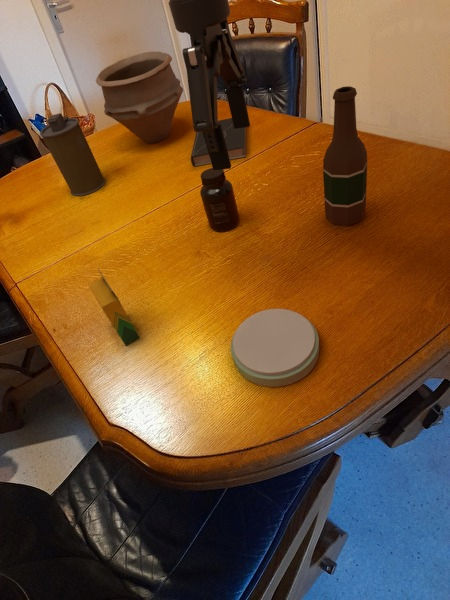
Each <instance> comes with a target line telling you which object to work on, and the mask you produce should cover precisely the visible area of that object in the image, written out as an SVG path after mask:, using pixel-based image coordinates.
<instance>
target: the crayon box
mask: <svg viewBox="0 0 450 600" xmlns="http://www.w3.org/2000/svg"><path fill="white" fill-rule="evenodd" d="M97 271H98V272H99V274H100V275H101V277H99V278H98V279H95V280H93V281H91V282H90V283H88V287H89V289H90V291H91V292H92V294H93V296H94V297H95V299H96V301H97V303H98V305H99V306H100V308H101V309H102V311H103V312H104V314H105V316H106V318H107V319H108V321H109V322H110V324H111V325H112V327H113V329H114V330H115V332H116V333H117V335H118V337H119V338H120V340H121V341H122V343H123V344H124V346H125V347H126V346H127V347H128V345H131V344H132V343H134V342H135V341H137V340H139V339H141V336H140V335H139V333H138V331H137V329H136V328H135V327H134V324H133V322H132V321H131V319H130V317H129V315H128V314H127V312H126V310H125V308H124V306H123V305H122V303H121V301H120V300H119V297H118V296H117V295H116V293H115V292H114V290H113V289H112V288H111V286H110V284H109V283H108V281H107V279H106V278H105V276H104V275H103V273H102V272H101V270H100V269H99V268H97Z"/></svg>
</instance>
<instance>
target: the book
mask: <svg viewBox="0 0 450 600" xmlns="http://www.w3.org/2000/svg"><path fill="white" fill-rule="evenodd" d="M219 124H221V127H222V131H223V135H224V139H225V143H226V147H227V151H228V155H229V159H230V161H234V160H239V159H244V158H246V157H247V127H244V128H236V129H234V125H233V121H232V117H230V118H224V119H220V120H218V125H219ZM190 155H191V156H190V162H191V165H192V166H193V167H194V168H195V167H200V166H205V165H212V163H211V160H210V156H209V153H208V149H207V146H206V142H205V139H204V135H203V132H202V131H201V132H195V137H194V141H193V144H192V149H191V154H190Z"/></svg>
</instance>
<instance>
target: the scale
mask: <svg viewBox="0 0 450 600" xmlns="http://www.w3.org/2000/svg"><path fill="white" fill-rule="evenodd" d="M318 334H319V333H318V331H317V329H316V327H315V325H313V323H312V322H311V321H310V320H309V319H308V318H307V317H306V316H303V315H302V314H300V313H299V312H296V311H294V310H291V309H285V308H269V309H264V310H261V311H258V312H256V313H254V314H252V315H250V316H248V317H247V318H245V319H244V320H243V321H242V322H241V323H240V324H239V326H237V329H236V330H235V332H234V333H233V336H232V339H231V342H230V353H231V357H232V361H233V363H234V366H235V368H236V370H237V371H238V373H239V374H240V375H241V376H242V377H243V378H245V379H246V380H247V381H249V382H251V383H253V384H255V385H258V386H261V387H266V388H267V387H268V388H277V387H278V388H279V387H285V386H289V385H292V384H295V383H297V382H298V381H301V380H302V379H303V378H305V377H306V376H308V375H309V373H310V372H311V371H312V370H313V369H314V368H315V366H316V364H317V362H318V360H319V357H320V340H319V339H320V338H319V335H318Z"/></svg>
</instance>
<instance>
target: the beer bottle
mask: <svg viewBox="0 0 450 600" xmlns="http://www.w3.org/2000/svg"><path fill="white" fill-rule="evenodd" d="M357 95H358V93H357V89H356V88H355V87H353V86H349V85H348V86H341V87H338V88H336V89H335V90H334V92H333V96H332V100H334V105H333V106H334V108H333V132H332V138H331V142H330V143H329V145H328V147H327V148H326V150H325V153H324V157H323V160H322V161H323V163H322V165H323V166H322V177H323V196H324V200H323V201H324V213H325V215H324V216H325V218H326V219H327V220H328V222H330V223H331V224H332V225H333V226H342V227H351V226H353V225H355V224H357V223H360V222H362V220H363V218H364V216H365V212H366V206H367V183H368V182H367V181H368V180H367V178H368V152H367V149H366V146H365V143H364V142H363V141H362V140H361V138H360V137H359V135H358V129H357V112H356V111H357V110H356V97H357Z"/></svg>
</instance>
